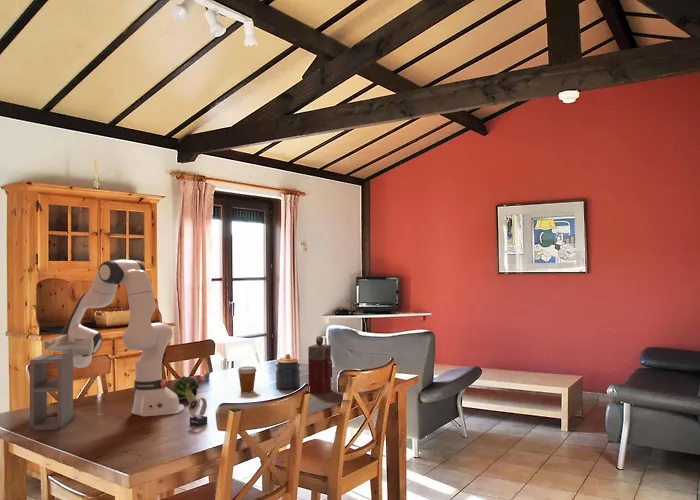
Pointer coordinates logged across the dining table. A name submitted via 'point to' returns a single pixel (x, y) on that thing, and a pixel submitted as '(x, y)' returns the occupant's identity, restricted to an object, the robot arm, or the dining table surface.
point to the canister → (287, 373)
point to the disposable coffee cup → (247, 378)
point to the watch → (193, 406)
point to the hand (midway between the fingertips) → (63, 337)
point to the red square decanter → (319, 367)
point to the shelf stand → (59, 385)
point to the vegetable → (186, 388)
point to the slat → (56, 341)
